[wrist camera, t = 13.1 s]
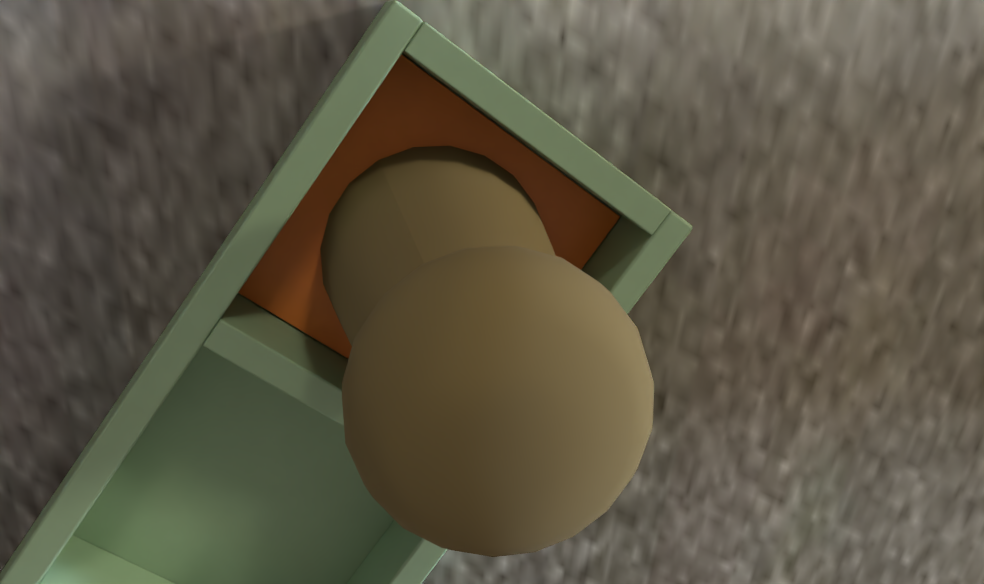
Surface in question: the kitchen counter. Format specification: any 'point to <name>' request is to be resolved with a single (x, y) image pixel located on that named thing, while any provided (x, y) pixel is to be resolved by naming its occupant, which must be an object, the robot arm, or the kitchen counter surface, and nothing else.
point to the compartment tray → (311, 344)
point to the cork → (478, 358)
